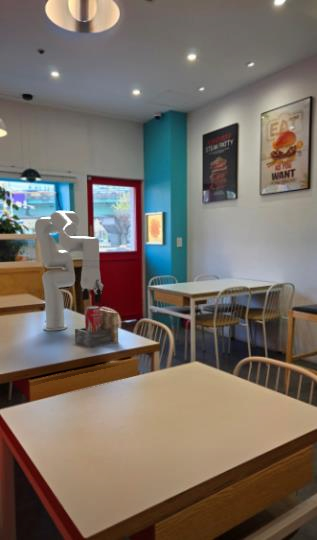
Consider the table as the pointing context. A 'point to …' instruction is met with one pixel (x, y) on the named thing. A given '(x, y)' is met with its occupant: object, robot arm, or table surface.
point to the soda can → (92, 319)
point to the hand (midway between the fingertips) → (91, 301)
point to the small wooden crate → (101, 337)
